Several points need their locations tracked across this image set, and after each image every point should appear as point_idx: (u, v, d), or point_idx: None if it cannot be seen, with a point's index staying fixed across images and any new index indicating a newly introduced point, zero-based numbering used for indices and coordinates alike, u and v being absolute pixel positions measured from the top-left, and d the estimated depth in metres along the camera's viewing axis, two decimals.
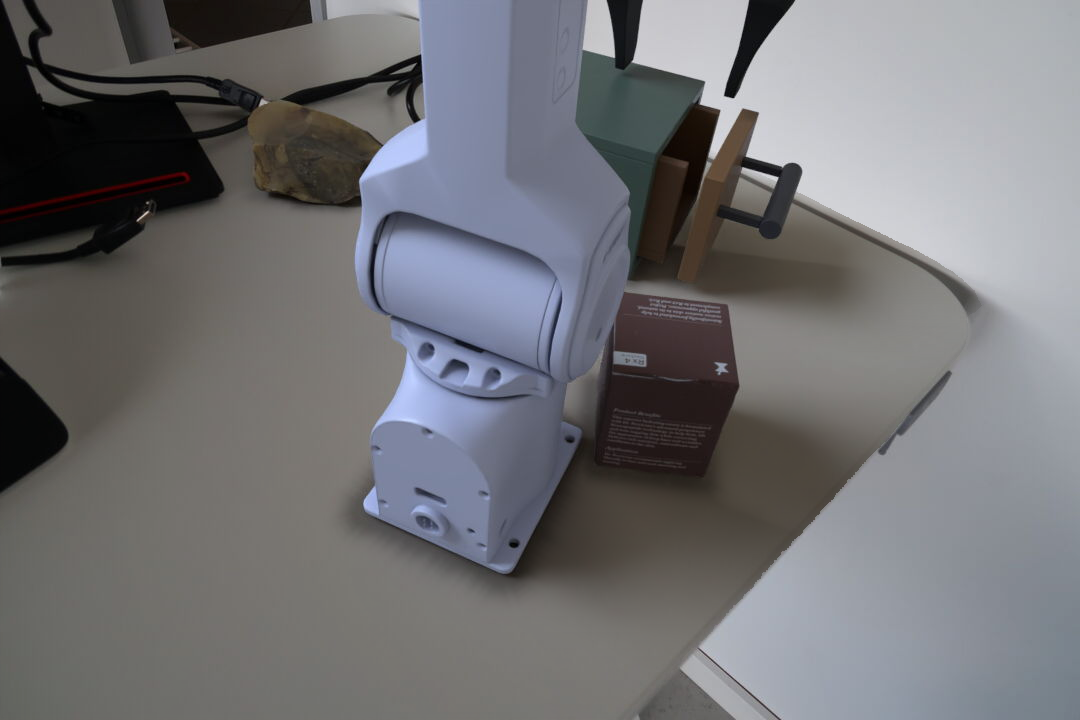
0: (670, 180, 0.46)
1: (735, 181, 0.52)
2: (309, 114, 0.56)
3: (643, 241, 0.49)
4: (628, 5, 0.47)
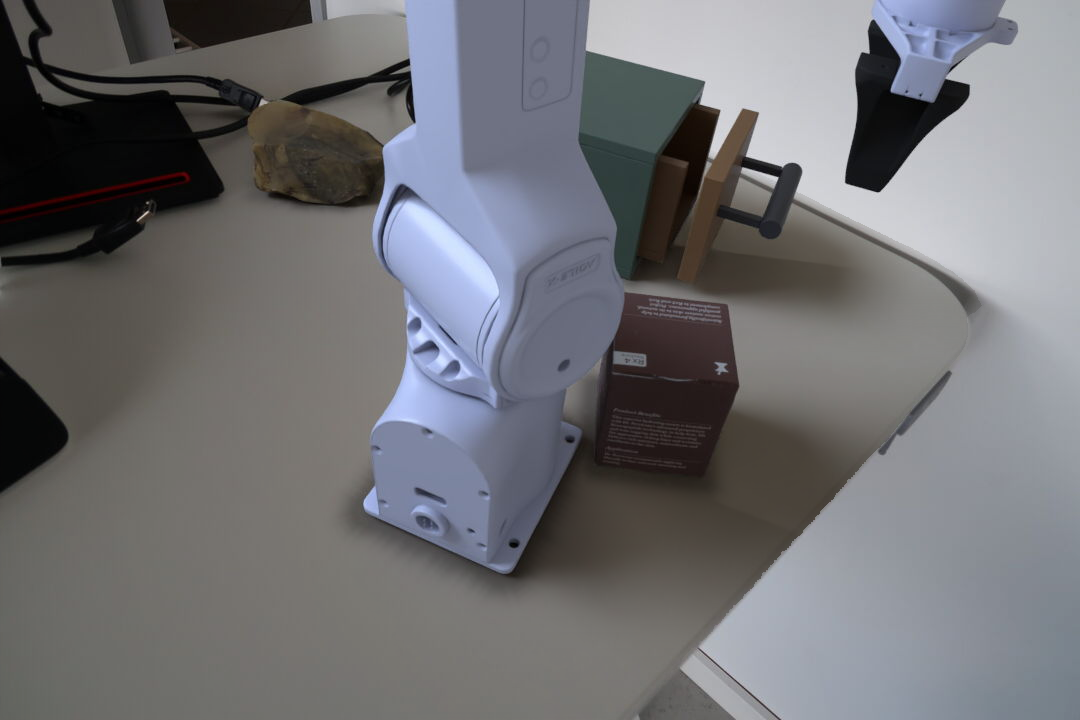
0: (670, 180, 0.46)
1: (735, 181, 0.52)
2: (309, 114, 0.56)
3: (643, 241, 0.49)
4: None
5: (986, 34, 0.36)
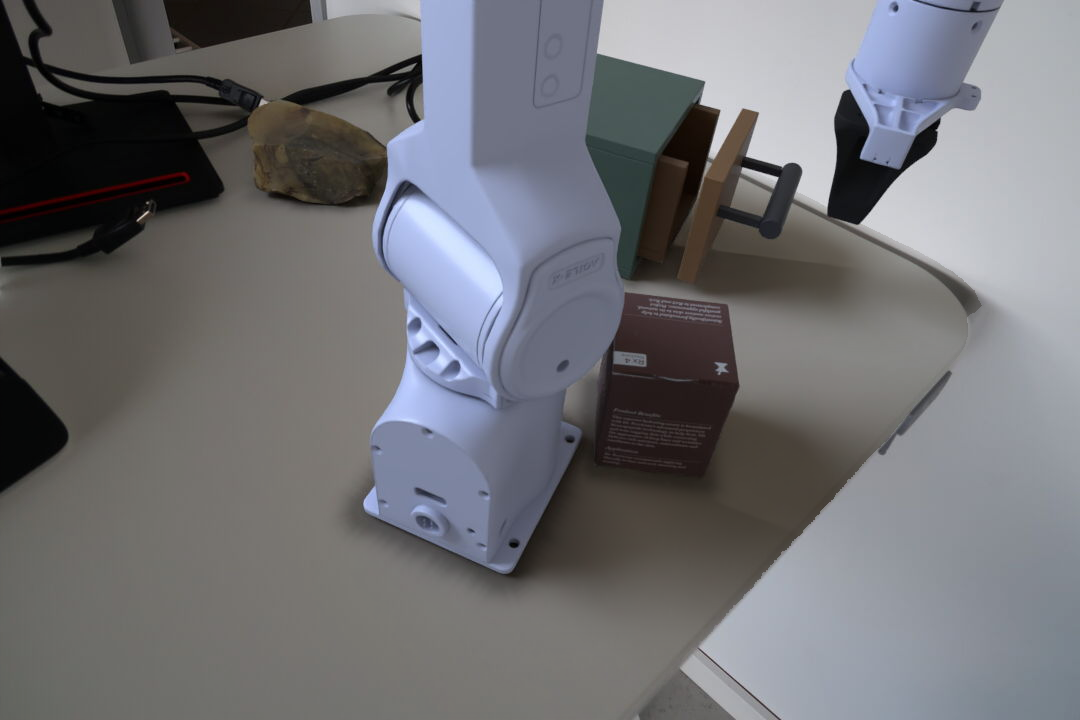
0: (670, 180, 0.46)
1: (735, 181, 0.52)
2: (309, 114, 0.56)
3: (643, 241, 0.49)
4: None
5: (950, 102, 0.39)
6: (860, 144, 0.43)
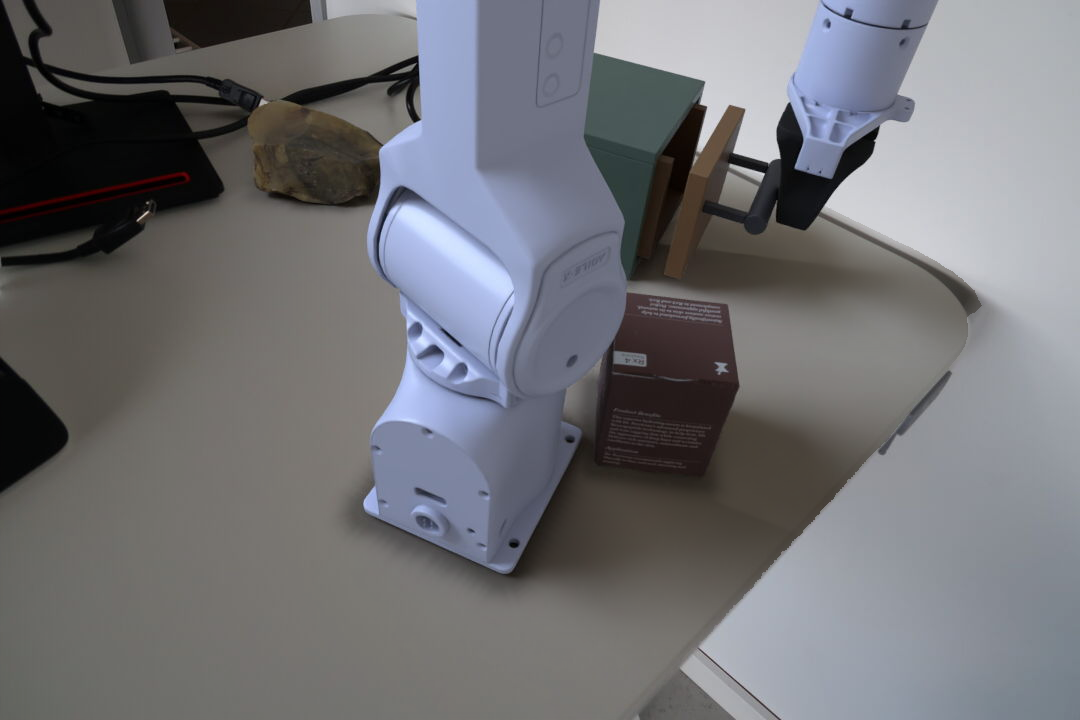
0: (656, 175, 0.46)
1: (722, 177, 0.52)
2: (309, 114, 0.56)
3: None
4: None
5: (883, 114, 0.40)
6: None
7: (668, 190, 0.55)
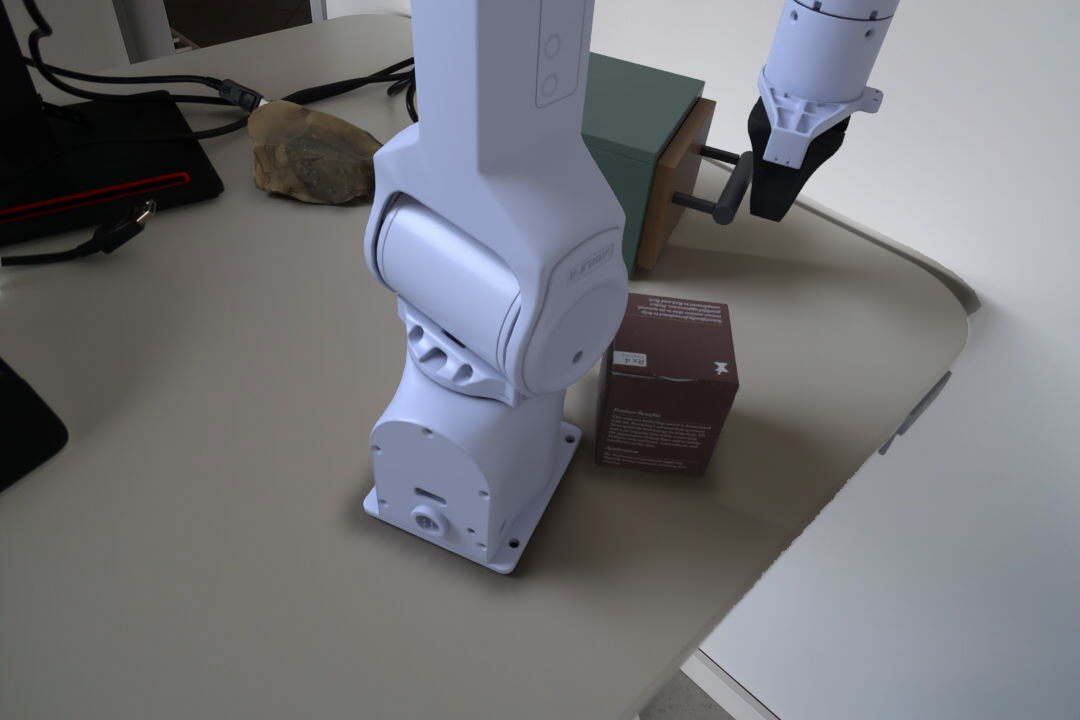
0: None
1: (694, 169, 0.52)
2: (309, 114, 0.56)
3: None
4: None
5: (851, 105, 0.41)
6: None
7: None
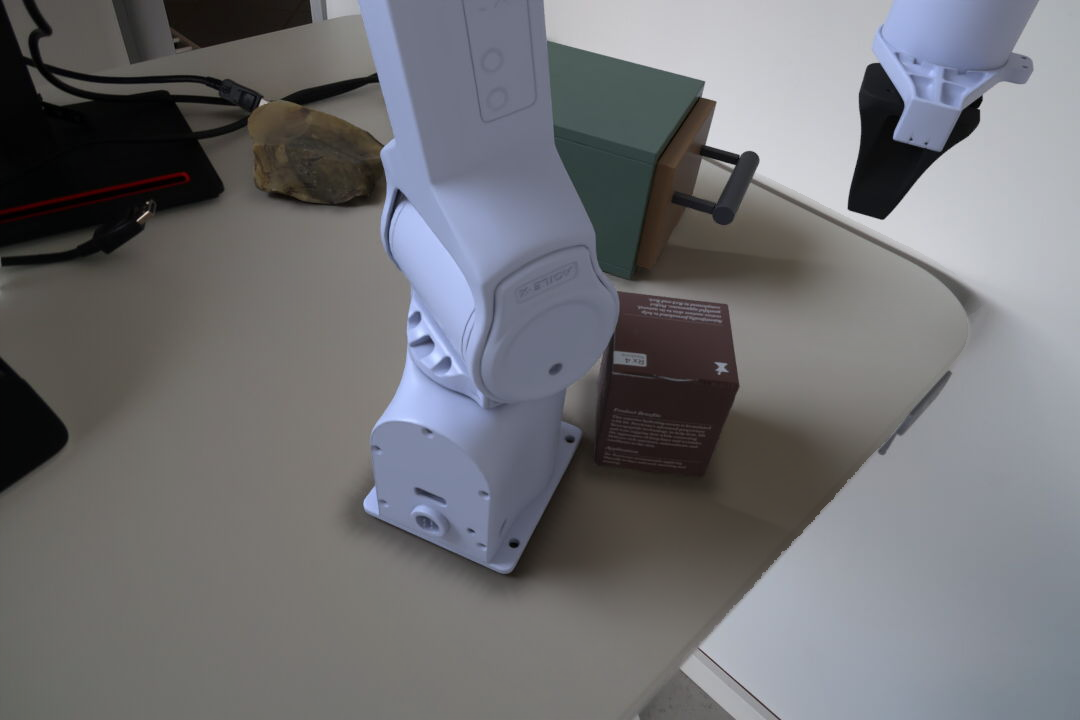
0: None
1: (694, 169, 0.52)
2: (309, 114, 0.56)
3: None
4: None
5: (998, 73, 0.33)
6: (888, 125, 0.37)
7: None
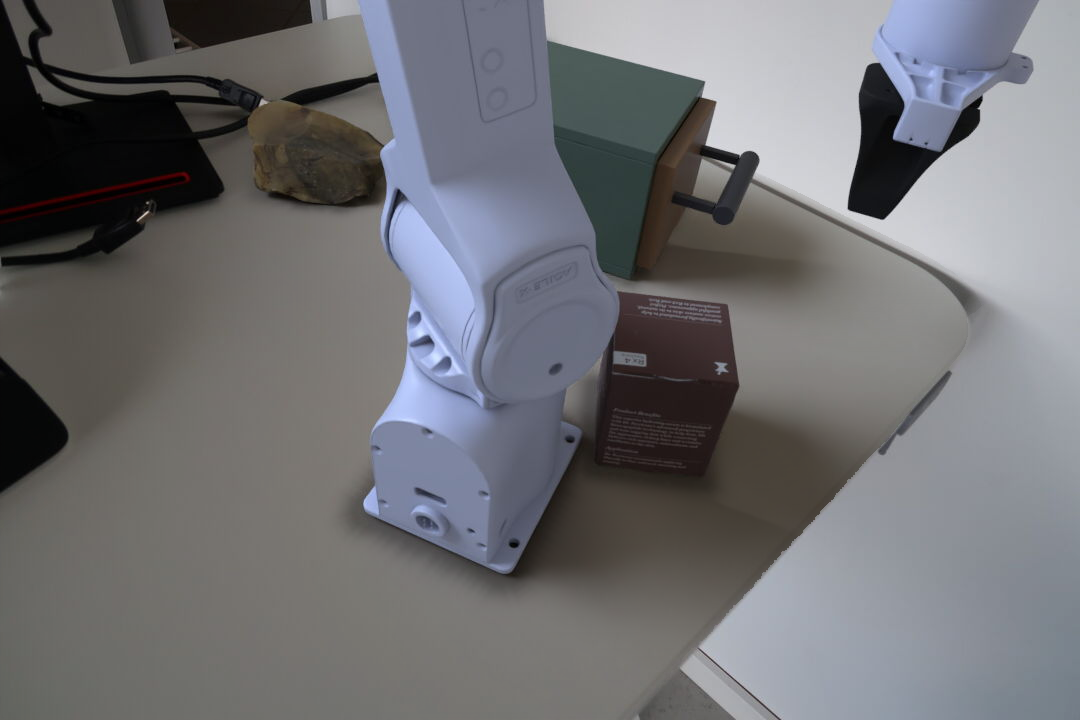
0: None
1: (694, 169, 0.52)
2: (309, 114, 0.56)
3: None
4: None
5: (998, 73, 0.33)
6: (888, 125, 0.37)
7: None
